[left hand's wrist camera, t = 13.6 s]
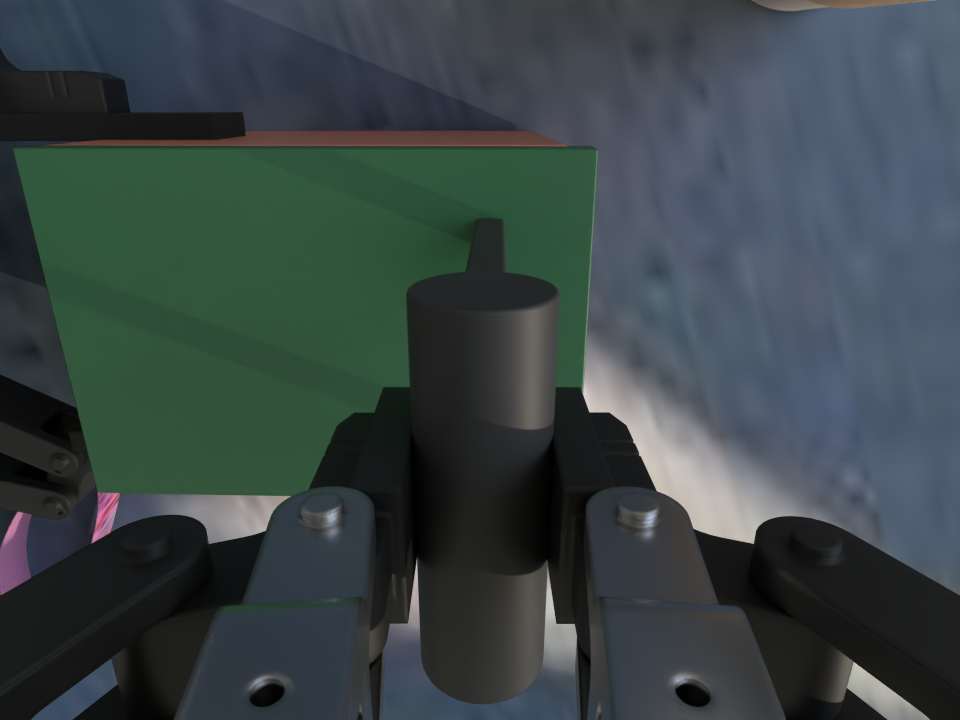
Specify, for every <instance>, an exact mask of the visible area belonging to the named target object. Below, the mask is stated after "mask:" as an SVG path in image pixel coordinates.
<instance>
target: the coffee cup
mask: <svg viewBox="0 0 960 720" xmlns="http://www.w3.org/2000/svg"><path fill="white" fill-rule="evenodd" d="M751 1H753V2H755V3H757V4H759V5H761V6H764V7H767V8H770V9H774V10H780V11H798V10H807V9H816V8H824V7H834V8H860V7H870V6H881V5H891V4H902V3H912V2H923V1H933V0H751Z"/></svg>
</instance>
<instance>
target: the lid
mask: <svg viewBox="0 0 960 720" xmlns="http://www.w3.org/2000/svg"><path fill="white" fill-rule="evenodd" d="M13 152H14V156H15V160H16V164H17V168H18V172H19V176H20V180H21V184H22V188H23V192H24V197H25V201H26V205H27V209H28V213H29V217H30V221H31V225H32V229H33V233H34V237H35V241H36V245H37V249H38V253H39V257H40V261H41V265H42V269H43V273H44V277H45V282H46V286H47V290H48V294H49V298H50V302H51V306H52V310H53V314H54V318H55V322H56V326H57V330H58V334H59V338H60V342H61V346H62V350H63V354H64V358H65V362H66V367H67V371H68V375H69V379H70V383H71V387H72V391H73V395H74V399H75V403H76V407H77V411H78V415H79V419H80V423H81V427H82V431H83V435H84V439H85V443H86V448H87V452H88V456H89V460H90V464H91V468H92V472H93V476H94V480H95V484H96V488H97V492H98V493H141V494H203V495H265V496H293V495H295V494H298V493H300V492H303V491H306V490H308V489H309V487H310V485H311V482H312V480H313V478H314V476H315V474H316V471H317V469H318V467H319V465H320V462H321V460H322V458H323V456H325V451H326V449H327V447H328V445H329V443H330V440H331V438H332V436H333V433H334V431H335V429H336V427H337V425H338V424H340V423H341V422H342V421H344V420H345V419H346V418H348V417H349V416H350V415H352V414H353V413H354V412H375V409H376V406H377V404H378V401H379V398H380V395H381V392H382V389H383V387H410V402H411V425H412V442H413V465H414V489H415V513H416V536H417V566H418V590H419V614H420V637H421V658H422V664H423V668H424V670H425V672H426V674H427V676H428V677H429V679H430V680H431V682H432V683H433V684H434V685H435V686H436V687H437V688H438V689H439V690H440V691H442V692H443V693H445V694H446V695H448V696H450V697H452V698H454V699H457V700H460V701H463V702H467V703H473V704H492V703H498V702H502V701H506V700H508V699H511V698H513V697H515V696H517V695H519V694H520V693H522V692H523V691H525V690H526V689H527V688H528V687H529V686H530V685H531V684H532V683H533V682H534V680H535V679H536V677H537V676H538V674H539V672H540V670H541V667H542V663H543V653H544V631H545V610H546V588H547V566H548V563H547V548H548V526H549V503H550V481H551V459H552V437H553V434H554V412H555V391H556V387H580V388H581V391H582V394H583V387H584V371H585V355H586V339H587V323H588V307H589V291H590V275H591V259H592V243H593V227H594V211H595V195H596V179H597V163H598V149H596V148H593V147H591V146H169V145H41V146H29V147H17V148H14V149H13Z"/></svg>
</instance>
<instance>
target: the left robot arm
mask: <svg viewBox="0 0 960 720" xmlns="http://www.w3.org/2000/svg"><path fill="white" fill-rule="evenodd" d="M416 560H417V536H416V513H415V489H414V465H413V442H412V425H411V402H410V387H383V389H382V392H381V395H380V398H379V401H378V404H377V406H376V409H375V412H354V413H353V414H352V415H350V416H349V417H348V418H346V419H345V420H344V421H342V422H341V423H340V424H338V425H337V427H336V429H335V431H334V433H333V436H332V438H331V440H330V443H329V445H328V447H327V449H326V451H325V456H323V458H322V460H321V462H320V465H319V467H318V469H317V471H316V474H315V476H314V478H313V480H312V482H311V485H310V487H309V489H308V490H306V491H303V492H300V493H298V494H295V495H293V496H291V497H289V498H288V499H286V500H285V501H283V502H282V503H281V504H280V505H279V506H277V508H276V509H275V510H274V511H273V513H272V515H271V518H270V520H269V523H268V526H267V529H266V531H264V532H261V533H258V534H255V535H251V536H247V537H243V538H238V539H233V540H228V541H223V542H218V543H213V544H209V542H208V537H207V531H206V528H205V527H204V525H203V524H202V523H201V522H200V521H198V520H196V519H194V518H191V517H188V516H182V515H161V516H154V517H149V518H145V519H141V520H138V521H135V522H132V523H129V524H127V525H124V526H122V527H120V528H118V529H116V530H114V531H112V532H111V533H109V534H107V535H105V536H104V537H102V538H100V539H98V540H97V541H95V542H93V543H91V544H90V545H88V546H86V547H84V548H83V549H81V550H79V551H77V552H76V553H74V554H72V555H70V556H69V557H67V558H65V559H63V560H62V561H60V562H58V563H56V564H55V565H53V566H51V567H49V568H48V569H46V570H44V571H42V572H41V573H39V574H37V575H35V576H34V577H32V578H30V579H28V580H27V581H25V582H23V583H21V584H20V585H18V586H16V587H14V588H13V589H11V590H9V591H7V592H6V593H4V594H2V595H0V720H31V719H32V718H33V717H34V716H35V715H36V714H37V713H38V712H39V711H41V710H42V709H43V708H45V707H46V706H47V705H49V704H50V703H51V702H53V701H54V700H55V699H57V698H58V697H59V696H61V695H62V694H63V693H65V692H66V691H67V690H69V689H70V688H71V687H73V686H74V685H76V684H77V683H78V682H80V681H81V680H82V679H84V678H85V677H86V676H88V675H89V674H90V673H92V672H93V671H94V670H96V669H97V668H98V667H100V666H101V665H103V664H104V663H105V662H107V661H108V660H109V659H112V663H113V667H114V671H115V674H116V678H117V682H118V685H116V686H115V687H114V688H113V689H111V690H110V691H109V692H107V693H106V694H105V695H104V696H102V697H101V698H100V699H99V700H97V701H96V702H95V703H93V704H92V705H91V706H90V707H88V708H87V709H86V710H85V711H83V712H82V713H81V714H79V715H78V716H77V717H76V718H74V719H73V720H382V719H383V695H384V671H385V662H384V646H385V644H386V641H387V636H388V630H389V625H390V624H402V623H408V618H409V611H410V604H411V597H412V589H413V582H414V575H415V568H416ZM547 563H548V569H549V576H550V583H551V590H552V597H553V603H554V610H555V617H556V624H575V627H576V633H577V647H576V662H575V671H576V695H577V719H578V720H887V719H886V718H884V717H883V716H882V715H881V714H879V713H878V712H877V711H876V710H874V709H873V708H872V707H870V706H869V705H868V704H867V703H865V702H864V701H863V700H861V699H860V698H859V697H858V696H856V695H855V694H854V693H853V692H851V691H850V690H849V689H847V685H848V681H849V677H850V674H851V670H852V666H853V662H855V663H856V664H858V665H859V666H860V667H862V668H863V669H864V670H866V671H867V672H868V673H870V674H871V675H872V676H874V677H875V678H876V679H878V680H879V681H880V682H882V683H883V684H884V685H886V686H887V687H889V688H890V689H891V690H893V691H894V692H895V693H897V694H898V695H899V696H901V697H902V698H903V699H905V700H906V701H907V702H909V703H910V704H911V705H913V706H914V707H915V708H917V709H918V710H920V711H921V712H922V713H923V714H925V715H926V716H927V717H928V718H929V719H930V720H960V595H958V594H956V593H954V592H953V591H951V590H949V589H947V588H946V587H944V586H942V585H940V584H939V583H937V582H935V581H933V580H932V579H930V578H928V577H926V576H925V575H923V574H921V573H919V572H918V571H916V570H914V569H912V568H911V567H909V566H907V565H905V564H904V563H902V562H900V561H898V560H897V559H895V558H893V557H891V556H890V555H888V554H886V553H884V552H883V551H881V550H879V549H877V548H876V547H874V546H872V545H870V544H869V543H867V542H865V541H863V540H862V539H860V538H858V537H856V536H855V535H853V534H851V533H849V532H847V531H845V530H844V529H842V528H839V527H837V526H835V525H832V524H829V523H826V522H823V521H820V520H816V519H811V518H805V517H795V516H785V517H777V518H773V519H770V520H767V521H765V522H763V523H762V524H761V525H760V526H759V527H758V529H757V530H756V535H755V541H754V544H751V543H746V542H741V541H736V540H731V539H726V538H721V537H717V536H712V535H709V534H706V533H703V532H700V531H697V530H695V529H693V526H692V523H691V521H690V518H689V515H688V513H687V511H686V510H685V509H684V508H683V506H681V505H680V504H679V503H678V502H677V501H675V500H674V499H672V498H671V497H669V496H667V495H665V494H662V493H660V492H657V491H656V489H655V486H654V484H653V482H652V480H651V478H650V476H649V473H648V471H647V469H646V467H645V465H644V463H643V460H642V458H641V456H639V452H638V449H637V447H636V445H635V443H633V439H632V436H631V434H630V432H629V430H628V428H627V426H626V425H625V424H624V423H622V422H621V421H620V420H618V419H617V418H616V417H614V416H613V415H612V414H610V413H589V410H588V408H587V405H586V402H585V399H584V396H583V394H582V391H581V388H580V387H556V391H555V412H554V434H553V437H552V459H551V481H550V503H549V526H548V548H547Z"/></svg>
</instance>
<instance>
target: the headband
mask: <svg viewBox="0 0 960 720" xmlns="http://www.w3.org/2000/svg"><path fill="white" fill-rule="evenodd" d="M119 496H120V493H98V512H97V519H96V525H95V529H94V534H93V538H92V542H91V543H93V542H95V541H97V540H98V539H100V538H102V537H104V536H105V535H107V534H109V533H110V531H111V528H112V524H113V521H114V517H115V513H116V509H117V505H118V501H119ZM31 517H32V515H31V514H26V513H21V512H17V513H16V515H15V516H14V518H13V520H12V522H11V524H10V526H9V528H8V530H7V533H6V535H5V538H4V539H3V542H2V544H1V548H0V593H1V595H2V594H4V593H6V592H7V591H9V590H11V589H13V588H14V587H16V586H18V585H20V584H21V583H23V582H25V581H27V580H28V579H30V578H31V575H30V571H29V567H28V561H27V534H28V528H29V524H30V520H31Z"/></svg>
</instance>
